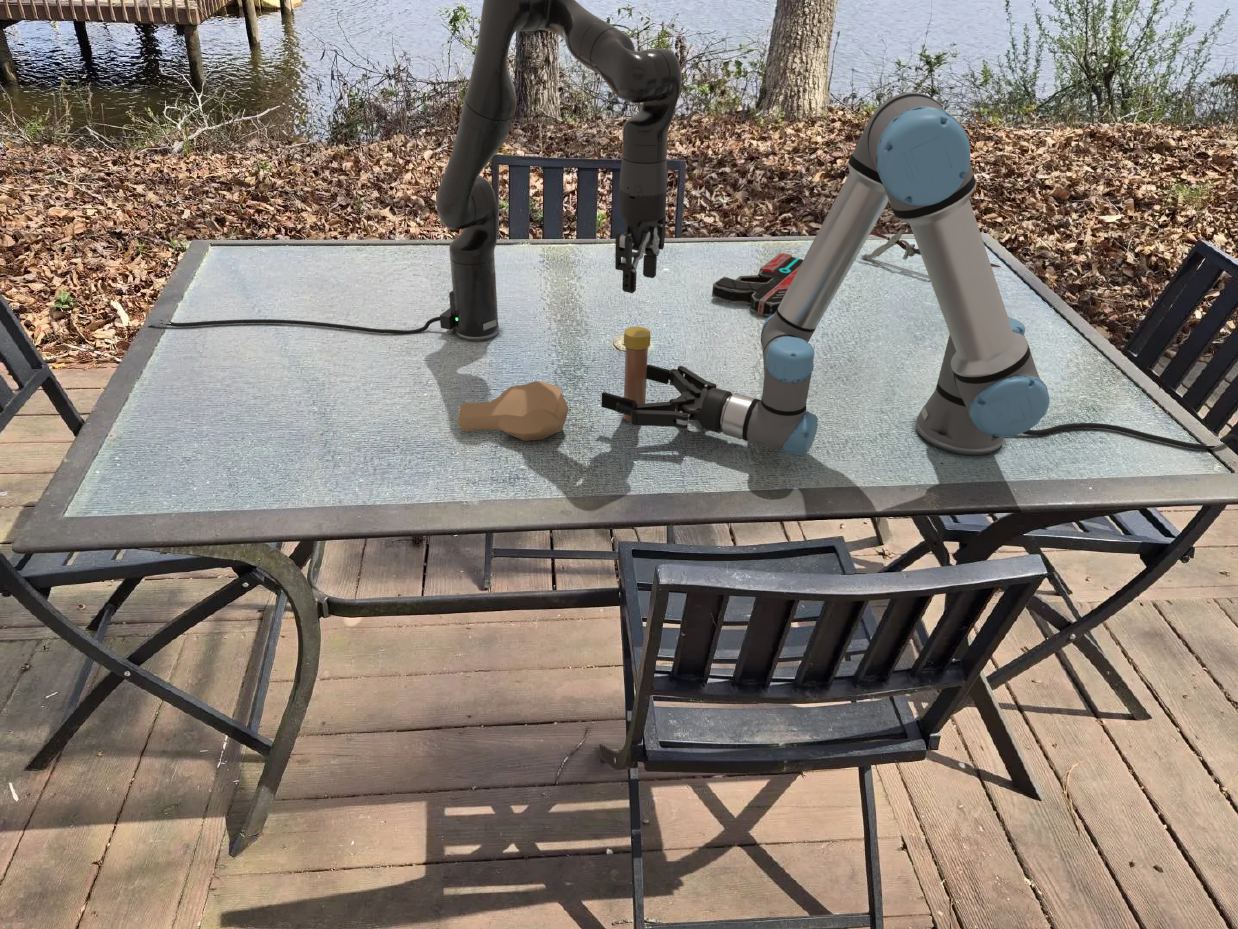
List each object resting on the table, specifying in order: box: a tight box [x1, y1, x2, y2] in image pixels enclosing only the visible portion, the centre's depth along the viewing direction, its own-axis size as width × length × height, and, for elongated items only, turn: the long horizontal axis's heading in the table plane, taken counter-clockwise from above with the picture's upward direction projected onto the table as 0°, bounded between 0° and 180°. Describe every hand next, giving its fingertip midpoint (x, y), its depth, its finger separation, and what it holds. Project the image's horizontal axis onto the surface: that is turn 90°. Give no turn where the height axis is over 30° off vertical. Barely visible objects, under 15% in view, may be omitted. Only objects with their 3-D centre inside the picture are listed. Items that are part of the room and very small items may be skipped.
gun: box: [711, 252, 804, 317], centre depth 215 cm, size 4×31×19 cm
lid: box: [623, 326, 651, 350], centre depth 155 cm, size 5×5×2 cm
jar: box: [622, 346, 649, 423], centre depth 159 cm, size 4×4×17 cm
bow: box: [861, 228, 1002, 278], centre depth 225 cm, size 39×2×10 cm, turn 47°
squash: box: [457, 380, 570, 442], centre depth 157 cm, size 11×20×9 cm, turn 90°
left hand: (639, 283), depth 149 cm, fingers open, 7 cm apart
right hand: (620, 383), depth 161 cm, fingers open, 13 cm apart
